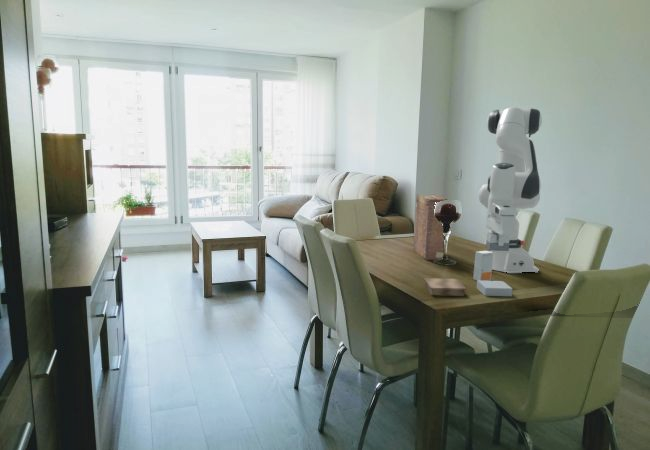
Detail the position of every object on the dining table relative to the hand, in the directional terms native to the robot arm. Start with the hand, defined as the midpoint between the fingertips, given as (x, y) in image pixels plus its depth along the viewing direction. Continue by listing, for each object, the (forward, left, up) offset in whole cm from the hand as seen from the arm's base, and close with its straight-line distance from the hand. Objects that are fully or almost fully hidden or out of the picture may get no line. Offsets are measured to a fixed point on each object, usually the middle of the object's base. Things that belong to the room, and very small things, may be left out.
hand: (497, 243), depth 177 cm
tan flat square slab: (+19, 0, -19) cm, 27 cm away
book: (+12, -64, -19) cm, 68 cm away
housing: (0, 0, -2) cm, 2 cm away
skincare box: (-1, -17, -19) cm, 25 cm away
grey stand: (0, 0, -19) cm, 19 cm away
